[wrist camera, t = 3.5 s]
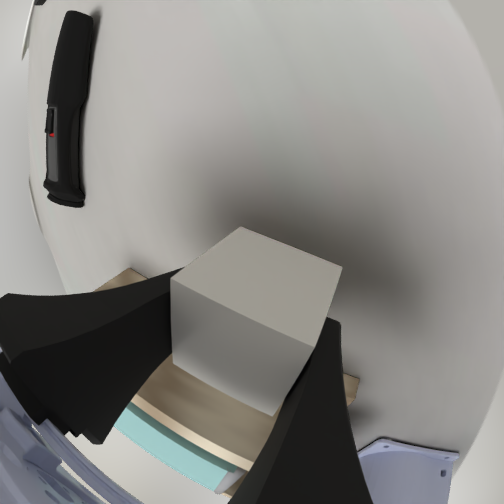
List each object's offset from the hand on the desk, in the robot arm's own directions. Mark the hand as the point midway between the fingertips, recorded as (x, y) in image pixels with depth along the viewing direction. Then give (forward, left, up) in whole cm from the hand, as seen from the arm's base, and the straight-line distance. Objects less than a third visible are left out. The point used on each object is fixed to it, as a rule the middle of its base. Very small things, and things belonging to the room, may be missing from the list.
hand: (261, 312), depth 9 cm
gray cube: (0, 0, -2) cm, 2 cm away
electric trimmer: (+18, -5, -4) cm, 19 cm away
